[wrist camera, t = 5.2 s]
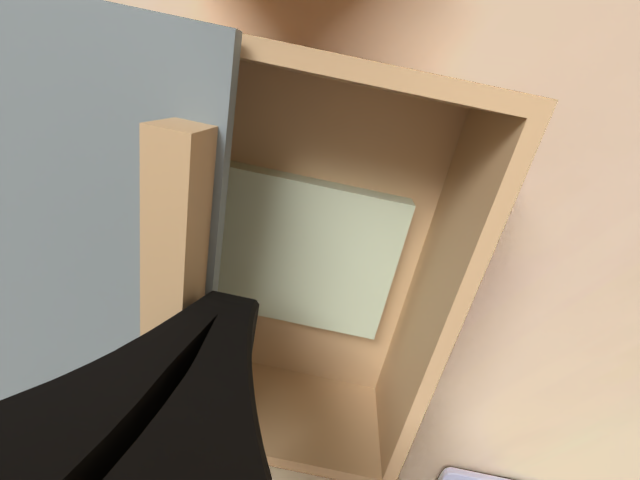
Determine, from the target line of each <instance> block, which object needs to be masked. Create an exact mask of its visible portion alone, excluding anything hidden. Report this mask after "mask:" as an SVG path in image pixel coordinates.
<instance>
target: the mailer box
mask: <svg viewBox="0 0 640 480" xmlns="http://www.w3.org/2000/svg"><path fill="white" fill-rule="evenodd" d="M557 102H558V100H556V99H551V98H547V97H542V96H537V95H532V94H528V93H523V92H518V91H513V90H509V89H504V88H499V87H495V86H490V85H485V84H480V83H476V82H471V81H466V80H462V79H457V78H452V77H447V76H443V75H438V74H433V73H428V72H424V71H419V70H414V69H410V68H405V67H400V66H395V65H391V64H386V63H381V62H377V61H372V60H367V59H362V58H358V57H353V56H348V55H343V54H339V53H334V52H329V51H325V50H320V49H315V48H310V47H306V46H301V45H296V44H291V43H287V42H282V41H277V40H273V39H268V38H263V37H258V36H254V35H249V34H244V33H242V42H241V52H240V63H239V73H238V84H237V94H236V105H235V115H234V126H233V136H232V147H231V157H230V168H229V178H228V189H227V199H226V209H225V220H224V230H223V241H222V251H221V262H220V272H219V283H218V292H222V293H227V294H232V295H236V296H241V297H246V298H251V299H255V300H257V302H258V303H259V311H258V317H257V324H256V330H255V337H254V343H253V350H252V372H253V385H254V394H255V401H256V408H257V414H258V420H259V425H260V431H261V436H262V441H263V445H264V449H265V453H266V457H267V461H268V465H269V466H273V467H277V468H282V469H287V470H292V471H296V472H301V473H306V474H311V475H315V476H320V477H325V478H330V479H334V480H397V478H398V476H399V474H400V471H401V469H402V467H403V464H404V462H405V460H406V457H407V455H408V453H409V450H410V448H411V445H412V443H413V441H414V438H415V436H416V434H417V431H418V429H419V427H420V424H421V422H422V420H423V417H424V415H425V413H426V410H427V408H428V405H429V403H430V401H431V398H432V396H433V394H434V391H435V389H436V387H437V384H438V382H439V380H440V377H441V375H442V372H443V370H444V368H445V365H446V363H447V361H448V358H449V356H450V354H451V351H452V349H453V347H454V344H455V342H456V340H457V337H458V335H459V332H460V330H461V328H462V325H463V323H464V321H465V318H466V316H467V314H468V311H469V309H470V307H471V304H472V302H473V300H474V297H475V295H476V292H477V290H478V288H479V285H480V283H481V281H482V278H483V276H484V274H485V271H486V269H487V267H488V264H489V262H490V259H491V257H492V255H493V252H494V250H495V248H496V245H497V243H498V241H499V238H500V236H501V234H502V231H503V229H504V227H505V224H506V222H507V219H508V217H509V215H510V212H511V210H512V208H513V205H514V203H515V201H516V198H517V196H518V194H519V191H520V189H521V186H522V184H523V182H524V179H525V177H526V175H527V172H528V170H529V168H530V165H531V163H532V161H533V158H534V156H535V154H536V151H537V149H538V146H539V144H540V142H541V139H542V137H543V135H544V132H545V130H546V128H547V125H548V123H549V121H550V118H551V116H552V114H553V111H554V109H555V106H556V104H557Z"/></svg>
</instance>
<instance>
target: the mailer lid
mask: <svg viewBox="0 0 640 480" xmlns="http://www.w3.org/2000/svg"><path fill="white" fill-rule="evenodd" d="M241 42H242V31H240V30H238V29H236V28H231V27H226V26H222V25H217V24H212V23H208V22H203V21H198V20H193V19H189V18H184V17H179V16H175V15H170V14H165V13H160V12H156V11H151V10H146V9H141V8H137V7H132V6H127V5H123V4H118V3H113V2H108V1H104V0H0V400H3V399H5V398H8V397H10V396H13V395H15V394H18V393H20V392H23V391H25V390H28V389H31V388H33V387H36V386H38V385H41V384H43V383H46V382H48V381H51V380H53V379H55V378H58V377H60V376H62V375H65V374H67V373H69V372H71V371H73V370H75V369H78V368H80V367H82V366H84V365H86V364H88V363H91V362H93V361H95V360H97V359H99V358H101V357H103V356H105V355H107V354H109V353H111V352H113V351H115V350H116V349H118V348H120V347H122V346H124V345H125V344H127V343H129V342H131V341H132V340H134V339H136V338H138V337H140V336H141V335H143V334H145V333H147V332H148V331H150V330H152V329H153V328H155V327H156V326H158V325H160V324H161V323H163V322H164V321H166V320H168V319H169V318H171V317H173V316H174V315H176V314H177V313H179V312H180V311H182V310H183V309H185V308H186V307H188V306H189V305H191V304H192V303H194V302H195V301H197V300H199V299H200V298H202V297H203V296H205V295H206V294H208V293H210V292H211V291H218V283H219V272H220V262H221V251H222V241H223V230H224V220H225V209H226V199H227V189H228V178H229V168H230V157H231V147H232V136H233V126H234V115H235V105H236V94H237V84H238V73H239V63H240V52H241Z"/></svg>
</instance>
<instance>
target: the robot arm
mask: <svg viewBox="0 0 640 480" xmlns="http://www.w3.org/2000/svg"><path fill="white" fill-rule="evenodd" d="M258 311H259V303H258V302H257V300H255V299H251V298H246V297H241V296H236V295H232V294H227V293H222V292H218V291H211V292H210V293H208V294H206V295H205V296H203V297H202V298H200V299H199V300H197V301H195V302H194V303H192V304H191V305H189V306H188V307H186V308H185V309H183V310H182V311H180V312H179V313H177V314H176V315H174V316H173V317H171V318H169V319H168V320H166V321H164V322H163V323H161V324H160V325H158V326H156V327H155V328H153V329H152V330H150V331H148V332H147V333H145V334H143V335H141V336H140V337H138V338H136V339H134V340H132V341H131V342H129V343H127V344H125V345H124V346H122V347H120V348H118V349H116V350H115V351H113V352H111V353H109V354H107V355H105V356H103V357H101V358H99V359H97V360H95V361H93V362H91V363H88V364H86V365H84V366H82V367H80V368H78V369H75V370H73V371H71V372H69V373H67V374H65V375H62V376H60V377H58V378H55V379H53V380H51V381H48V382H46V383H43V384H41V385H38V386H36V387H33V388H31V389H28V390H25V391H23V392H20V393H18V394H15V395H13V396H10V397H8V398H5V399H3V400H0V480H272V477H271V473H270V469H269V465H268V461H267V457H266V453H265V449H264V445H263V441H262V436H261V431H260V425H259V420H258V414H257V408H256V401H255V394H254V385H253V372H252V350H253V343H254V337H255V330H256V324H257V317H258ZM438 480H511V479H506V478H502V477H497V476H492V475H487V474H482V473H478V472H473V471H468V470H463V469H459V468H454V467H448V468H445V469H444V470H443V471H442V472H441V474H440V476H439V478H438Z"/></svg>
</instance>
